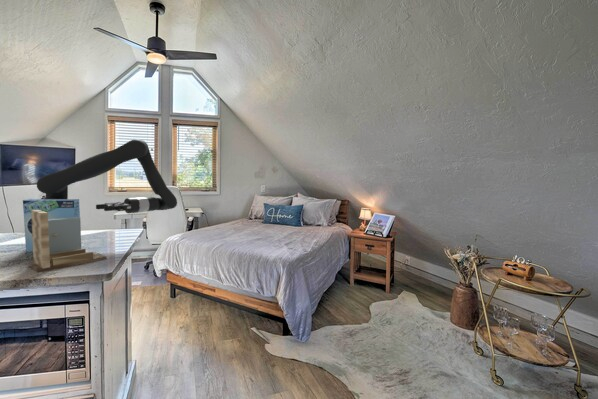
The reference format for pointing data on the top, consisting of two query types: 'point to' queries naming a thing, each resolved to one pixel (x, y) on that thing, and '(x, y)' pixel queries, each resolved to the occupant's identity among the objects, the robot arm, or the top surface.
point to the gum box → (54, 210)
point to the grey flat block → (64, 234)
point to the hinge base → (55, 260)
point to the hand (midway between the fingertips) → (100, 207)
